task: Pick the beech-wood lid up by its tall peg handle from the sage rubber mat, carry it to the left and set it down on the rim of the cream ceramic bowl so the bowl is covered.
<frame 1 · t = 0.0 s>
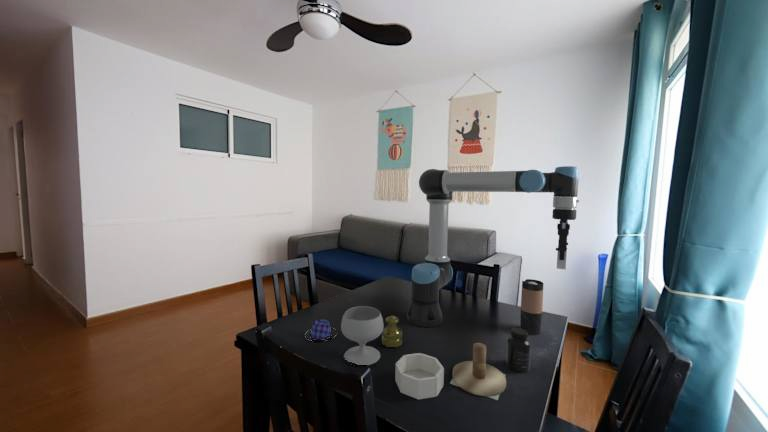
hand: (561, 264, 111), 28 cm above the table, fingers open, 13 cm apart
mat: (478, 380, 87), on the table
supplement bottle: (517, 368, 93), on the table
bowl: (419, 384, 84), on the table
travel mug: (530, 331, 118), on the table
purple plaid hat: (321, 335, 113), on the table
chalice: (362, 357, 98), on the table
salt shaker: (391, 343, 107), on the table
lid: (478, 378, 86), resting on mat
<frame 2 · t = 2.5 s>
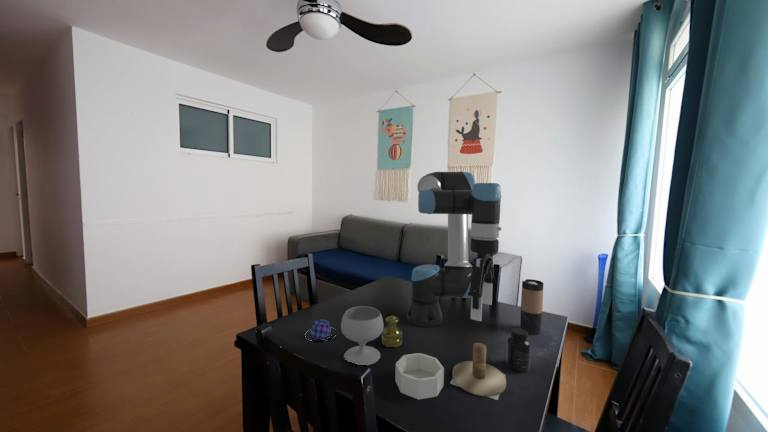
hand: (481, 311, 85), 21 cm above the table, fingers open, 13 cm apart
nothing on the table moved.
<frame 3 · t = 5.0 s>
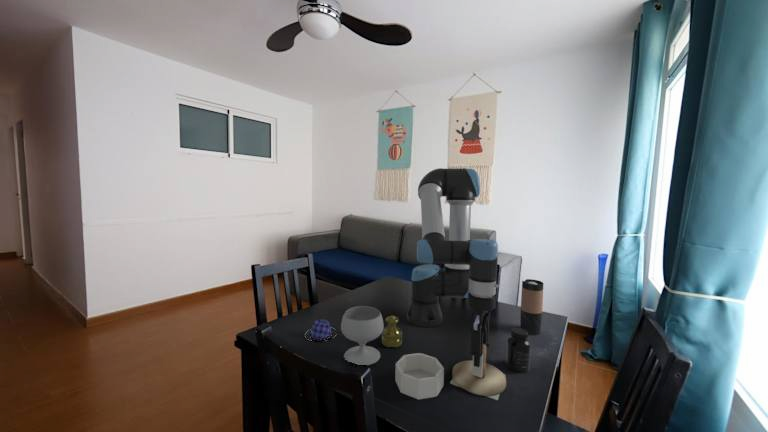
hand: (478, 371, 86), 3 cm above the table, fingers closed on lid, 3 cm apart
lid: (478, 378, 87), point 1 cm above the table, touching gripper
everything else where it was.
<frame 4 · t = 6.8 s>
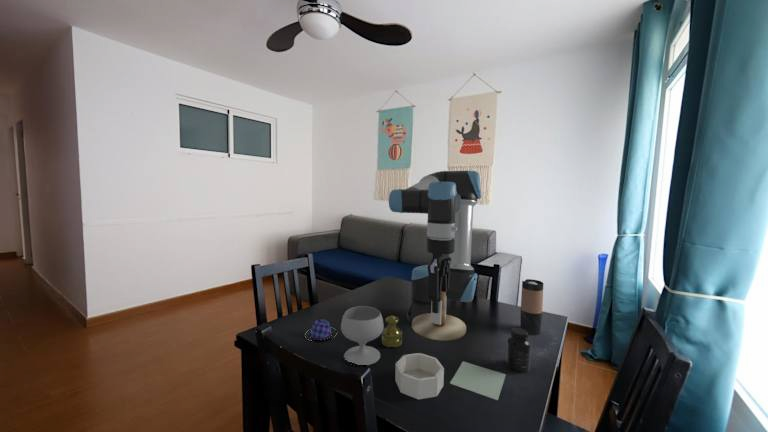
hand: (438, 320, 83), 19 cm above the table, fingers closed on lid, 3 cm apart
lid: (438, 327, 83), point 17 cm above the table, touching gripper
everything else where it was.
when the fingers open (9 cm above the table, at t = 9.1 s): lid drops 2 cm, resting on bowl.
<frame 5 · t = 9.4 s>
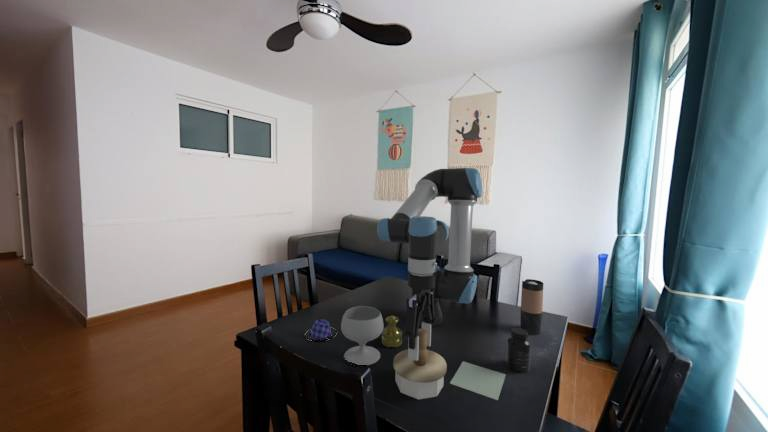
hand: (419, 351, 84), 10 cm above the table, fingers open, 8 cm apart
lid: (419, 365, 84), point 5 cm above the table, touching bowl
everything else where it was.
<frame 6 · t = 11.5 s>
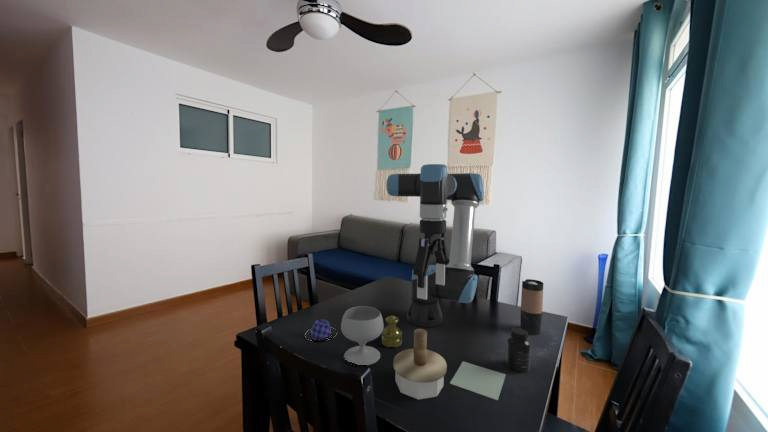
hand: (431, 291, 87), 26 cm above the table, fingers open, 13 cm apart
nothing on the table moved.
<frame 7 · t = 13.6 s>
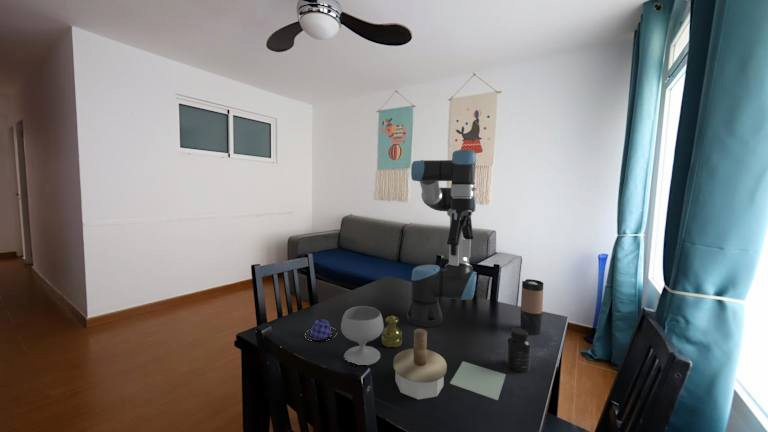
hand: (460, 261, 99), 32 cm above the table, fingers open, 13 cm apart
nothing on the table moved.
at the end: lid 0.1 cm off-centre on the bowl, point 5.5 cm above the bowl's base; lid tilted 0°; the gripper is holding nothing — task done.
